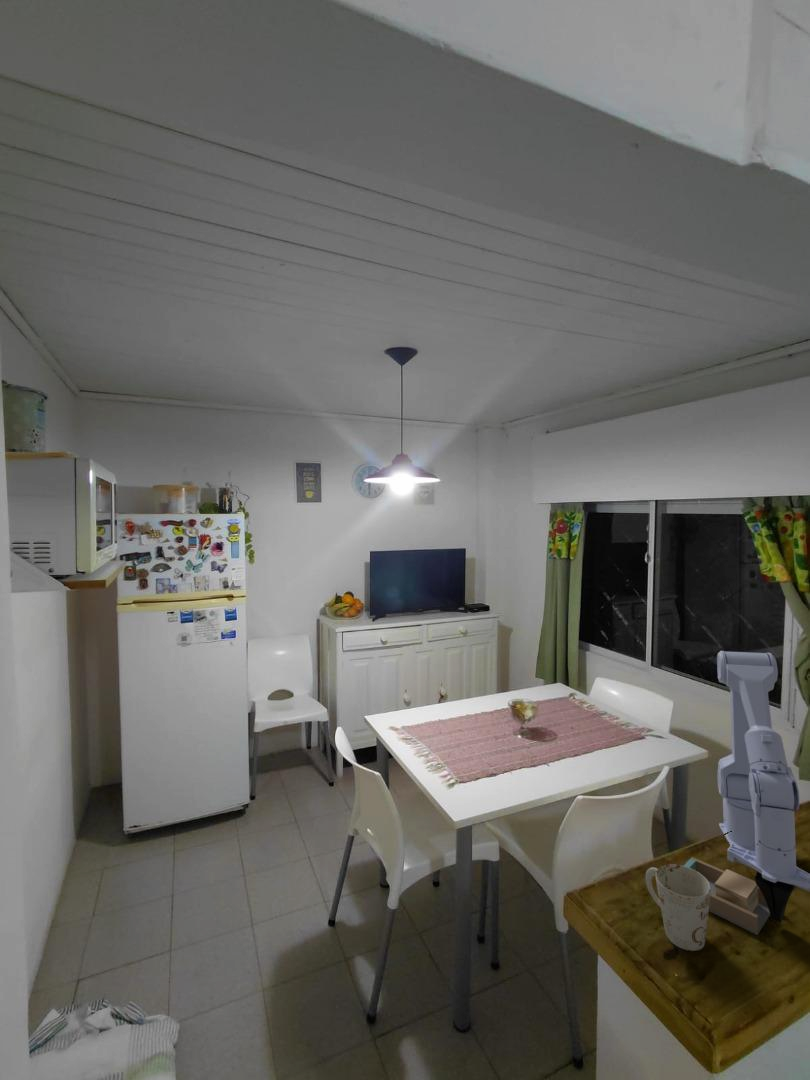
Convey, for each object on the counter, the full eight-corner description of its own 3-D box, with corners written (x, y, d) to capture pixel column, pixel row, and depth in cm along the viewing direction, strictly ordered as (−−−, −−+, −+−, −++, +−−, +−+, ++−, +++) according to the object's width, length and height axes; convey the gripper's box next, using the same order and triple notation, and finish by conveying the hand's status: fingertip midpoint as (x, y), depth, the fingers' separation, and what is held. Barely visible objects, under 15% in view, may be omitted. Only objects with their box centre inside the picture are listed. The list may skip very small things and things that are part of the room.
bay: (672, 892, 99) (672, 877, 99) (692, 871, 105) (692, 856, 105) (757, 935, 88) (756, 917, 88) (774, 908, 94) (773, 892, 94)
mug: (688, 964, 83) (686, 903, 83) (628, 912, 95) (626, 858, 95) (724, 946, 87) (722, 887, 86) (661, 897, 98) (659, 846, 98)
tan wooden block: (715, 904, 95) (714, 883, 95) (727, 889, 99) (726, 868, 99) (747, 920, 91) (746, 898, 91) (759, 904, 95) (758, 882, 94)
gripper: (719, 832, 93) (722, 907, 93) (821, 872, 81) (824, 956, 82) (734, 817, 97) (736, 888, 97) (832, 852, 86) (835, 932, 86)
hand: (777, 918), depth 90 cm, fingers closed
